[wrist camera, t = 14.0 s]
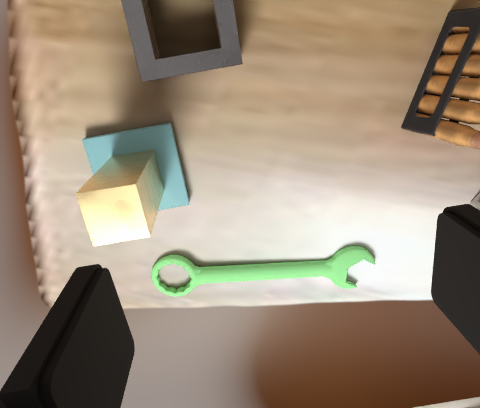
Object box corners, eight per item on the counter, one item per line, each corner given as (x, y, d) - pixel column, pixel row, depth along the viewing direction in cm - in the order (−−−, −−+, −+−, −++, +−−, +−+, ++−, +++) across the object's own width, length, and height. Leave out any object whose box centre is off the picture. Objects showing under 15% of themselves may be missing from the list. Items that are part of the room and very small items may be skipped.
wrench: (365, 279, 43) (371, 240, 41) (372, 289, 42) (379, 249, 40) (154, 292, 41) (150, 251, 39) (152, 303, 39) (148, 261, 37)
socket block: (123, -26, 29) (111, -38, 25) (221, -42, 29) (224, -57, 25) (149, 79, 32) (141, 81, 28) (238, 63, 32) (242, 64, 28)
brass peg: (111, 155, 33) (75, 193, 24) (154, 148, 33) (135, 184, 24) (123, 196, 35) (93, 246, 25) (164, 189, 35) (149, 236, 25)
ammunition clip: (449, 10, 32) (579, -16, 21) (467, 16, 32) (604, -6, 21) (400, 128, 36) (489, 159, 25) (417, 132, 36) (511, 165, 25)
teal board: (85, 137, 33) (82, 140, 32) (171, 122, 33) (170, 124, 32) (111, 215, 36) (108, 219, 35) (189, 200, 36) (189, 204, 35)
